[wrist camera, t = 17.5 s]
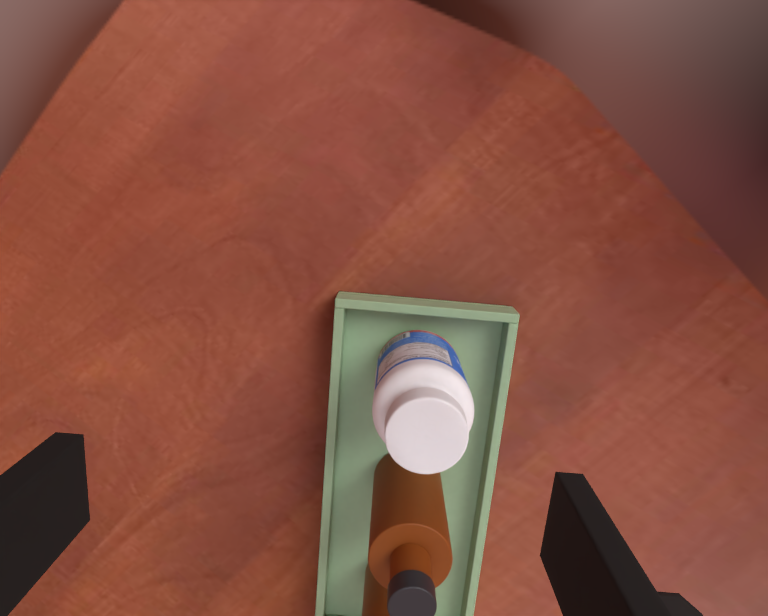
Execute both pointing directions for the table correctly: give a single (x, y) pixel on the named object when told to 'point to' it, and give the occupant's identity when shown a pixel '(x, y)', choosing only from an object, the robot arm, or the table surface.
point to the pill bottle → (422, 402)
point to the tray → (366, 448)
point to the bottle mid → (408, 538)
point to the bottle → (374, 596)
